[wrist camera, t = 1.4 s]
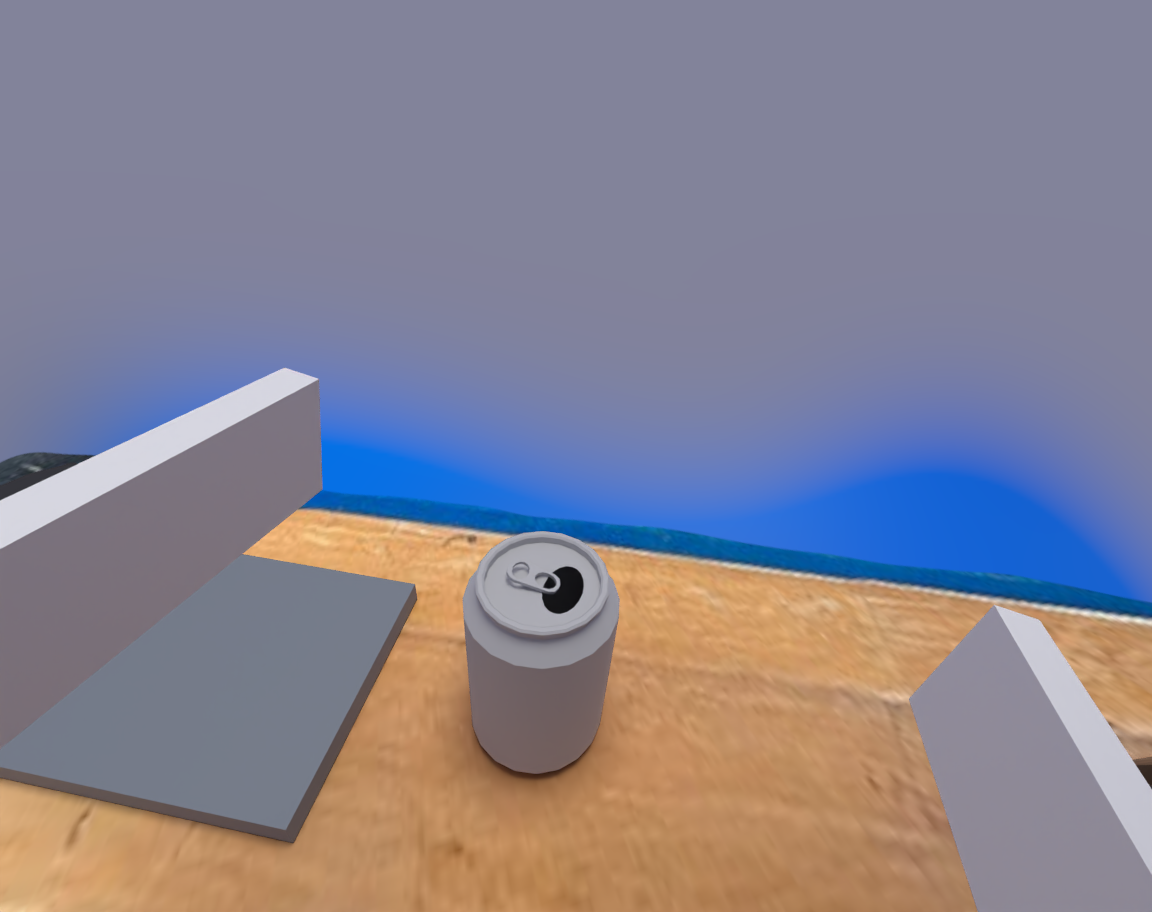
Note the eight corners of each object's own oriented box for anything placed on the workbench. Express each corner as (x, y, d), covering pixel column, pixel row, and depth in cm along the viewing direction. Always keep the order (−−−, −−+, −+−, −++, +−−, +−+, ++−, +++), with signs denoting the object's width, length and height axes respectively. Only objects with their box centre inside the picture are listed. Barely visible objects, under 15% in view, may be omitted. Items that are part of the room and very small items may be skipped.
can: (581, 800, 28) (604, 665, 21) (449, 757, 30) (429, 616, 23) (611, 675, 34) (636, 538, 27) (500, 644, 35) (497, 505, 29)
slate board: (417, 598, 38) (414, 584, 37) (293, 843, 26) (285, 829, 25) (206, 561, 39) (199, 546, 39) (-5, 776, 27) (-22, 762, 26)
